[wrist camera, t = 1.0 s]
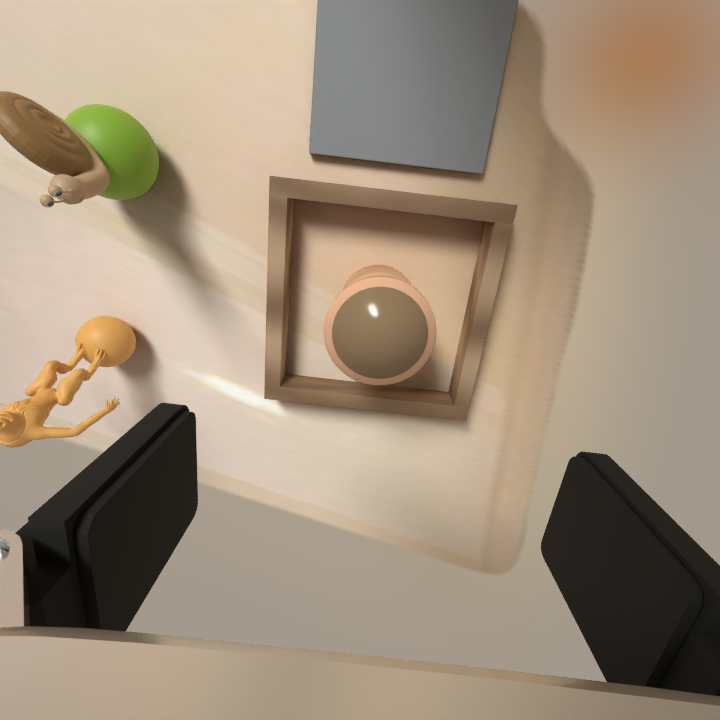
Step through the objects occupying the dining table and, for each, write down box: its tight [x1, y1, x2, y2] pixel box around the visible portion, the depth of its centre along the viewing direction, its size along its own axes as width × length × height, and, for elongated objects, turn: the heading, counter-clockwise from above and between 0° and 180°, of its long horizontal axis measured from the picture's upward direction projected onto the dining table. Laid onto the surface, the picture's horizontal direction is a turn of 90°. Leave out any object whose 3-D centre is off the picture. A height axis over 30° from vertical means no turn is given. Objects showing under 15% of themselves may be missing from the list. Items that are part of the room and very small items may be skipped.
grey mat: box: [309, 0, 518, 174], centre depth 25 cm, size 12×12×1 cm
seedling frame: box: [264, 176, 517, 421], centre depth 30 cm, size 16×16×2 cm
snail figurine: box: [0, 91, 159, 207], centre depth 23 cm, size 5×6×12 cm
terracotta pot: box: [324, 265, 436, 385], centre depth 28 cm, size 7×7×8 cm
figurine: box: [0, 316, 136, 447], centre depth 28 cm, size 8×6×12 cm
